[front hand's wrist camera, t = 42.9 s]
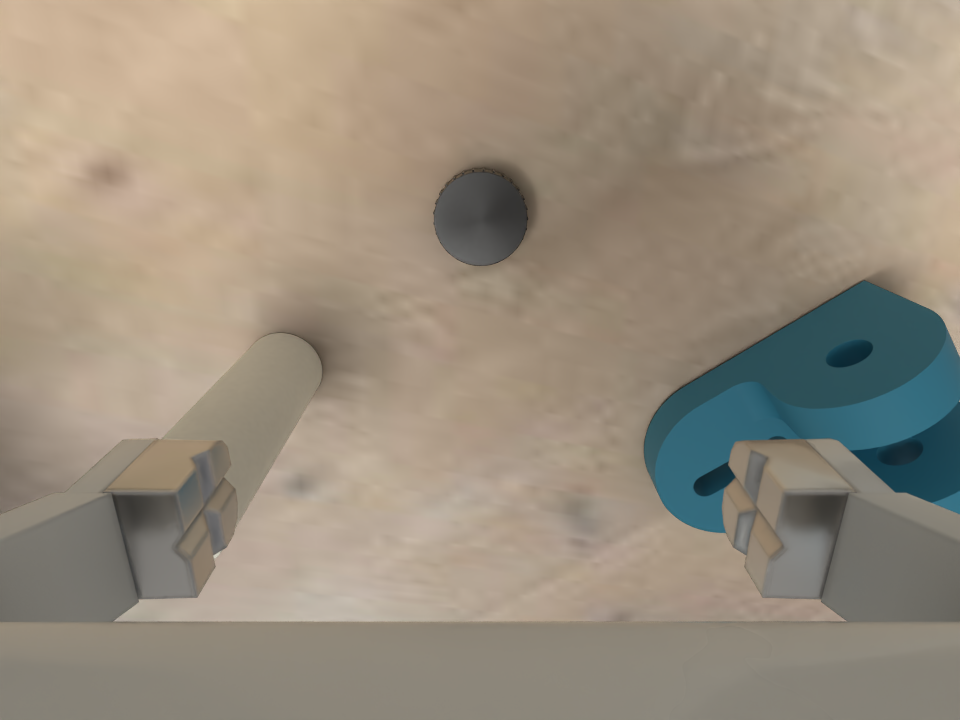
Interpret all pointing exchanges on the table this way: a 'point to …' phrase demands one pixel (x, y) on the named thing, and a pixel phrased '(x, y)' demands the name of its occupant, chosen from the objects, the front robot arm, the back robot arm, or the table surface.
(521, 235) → the lid
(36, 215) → the table surface
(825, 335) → the camera mount
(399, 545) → the table surface
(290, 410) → the beige long cylinder
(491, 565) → the table surface
